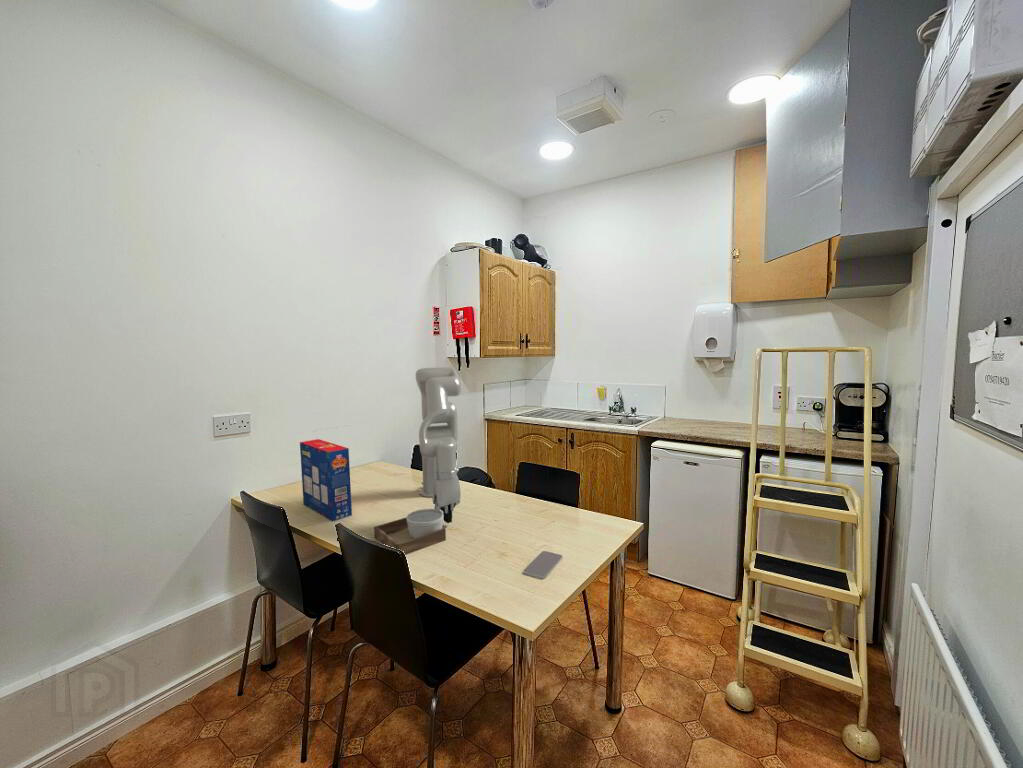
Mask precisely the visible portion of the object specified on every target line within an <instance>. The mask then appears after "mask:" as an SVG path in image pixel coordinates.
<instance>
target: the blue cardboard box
mask: <svg viewBox="0 0 1023 768" xmlns="http://www.w3.org/2000/svg"><path fill="white" fill-rule="evenodd" d="M299 451H300V452H299V453H300V465H301V466H300V468H301V469H300V470H301V483H302V500H303V506H305V507H307V508H308V507H309V509H311V511H314V512H316V513H317V514H319V515H321V516H322V517H324V518H326V519H328V520H330V521H331V522H336V521H339V520H341V519H344V518H348V517H351V516H353V511H352V510H353V508H352V492H351V487H352V486H351V472H350V471H351V470H350V453H349V451H350V449H349V447H346V446H342V445H339V444H335V443H332V442H329V441H326V440H322V439H319V438H316V439H310V440H304V441H300V442H299Z"/></svg>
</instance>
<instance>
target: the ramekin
mask: <svg viewBox="0 0 1023 768" xmlns="http://www.w3.org/2000/svg"><path fill="white" fill-rule="evenodd" d="M406 517H407V523H408V528H407V530H408V534H409V536H410V537H411V538H412V539H414V538H417V537H419V536H422V535H425V534H428V533H431V532H434V531H437V530H440V529H443V523H444V519H443V518H444V515H443V511H441V510H435V509H434V508H423V509H422V508H421V509H418V510H415V511H412V512H410V513H408V514H407V516H406Z"/></svg>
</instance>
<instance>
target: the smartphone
mask: <svg viewBox="0 0 1023 768" xmlns="http://www.w3.org/2000/svg"><path fill="white" fill-rule="evenodd" d="M562 560H563V554H559V553H554V552H551V551H546V550H542V551H541V552H540V553H539V554H538V555H537V556H536V557H535V558H534V559H533V560H532V561H530V563H528V565H526V567H525V568H523V571H522V573H523V574H524V575H525V576H530V577H533V578H537V579H540V580H545V579H546V578H547V577H548V576H549V575H550V574H551V572H552V571H553V570H554V569H555V568H556V566H558V564H559V563H560V561H562Z"/></svg>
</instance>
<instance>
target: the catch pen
mask: <svg viewBox="0 0 1023 768" xmlns="http://www.w3.org/2000/svg"><path fill="white" fill-rule="evenodd" d="M373 529H374V530H373V531H374V533H373V535H374V538H375V539H376V540H377V541H378V542H379V543H380V544H381V543H382V544H381V545H383V544H385V545H388V546H390V547H394V548H396V549H400V550H402V551H404V553H405V554H406V555H409V554H411V553H412V554H413V552H417V551H420V550H422V549H425V548H428V547H430V546H431V547H432V546H433V545H436V544H438V543H442V542H444V541H446V540H447V535H446V530H447V529H446V528H444V527H442V529H440V530H437V531H434V532H431V533H428V534H425V535H422V536H419V537H417V538H412V539H408V540H405V541H402V542H398V541H397V540H395V539H394V538H392V537H391V536H390V535H392V534H395V533H398V532H401V531H404V530H406V529H407V530H408V523H407V516H406V517H402V518H400V519H396V520H392V521H390V522H387V523H383V524H382V523H381V524H379V525H376V526H373Z"/></svg>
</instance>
